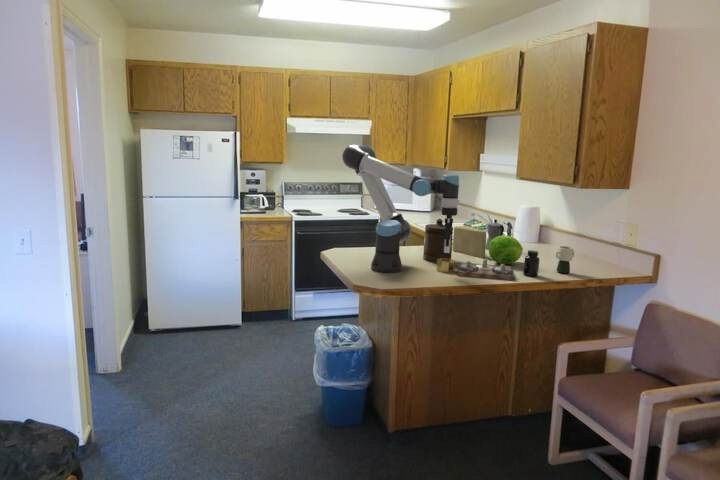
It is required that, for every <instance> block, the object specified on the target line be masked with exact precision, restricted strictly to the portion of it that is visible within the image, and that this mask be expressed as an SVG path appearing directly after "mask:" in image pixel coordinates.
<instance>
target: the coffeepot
mask: <svg viewBox="0 0 720 480" xmlns="http://www.w3.org/2000/svg"><path fill="white" fill-rule="evenodd" d="M486 228H487V236H488V237H487V238H486V249H485V250H487V251H489V250H488V249H489V243H490V241H491V240H492V239H493V238H495V237H497V236H501V235H504V233H505V227H504V224H502V223H498V220H497V219H494V220H493V222H488V223H487V227H486Z"/></svg>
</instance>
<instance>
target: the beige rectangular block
mask: <svg viewBox="0 0 720 480" xmlns="http://www.w3.org/2000/svg"><path fill="white" fill-rule="evenodd" d="M486 243H487V231H486V230H482V229H478V228H473V227H471V226H469V225H455V226H454V227H453V235H452V251H453V252H457V253H460V254H465V255H469V256H471V257H472V256H473V257H477V258H480V259H486V258H485V257H486V250H487V249H486Z"/></svg>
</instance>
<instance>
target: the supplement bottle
mask: <svg viewBox="0 0 720 480" xmlns="http://www.w3.org/2000/svg"><path fill="white" fill-rule="evenodd" d="M538 256H539V251H537V250H532V249H531V250H527V255H526V256H525V257H524V265H523V273H522V274H523V275H524V276H525V277H530V278H536V277H538V276H539V266H540V257H538Z"/></svg>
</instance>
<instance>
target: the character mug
mask: <svg viewBox="0 0 720 480" xmlns="http://www.w3.org/2000/svg"><path fill="white" fill-rule="evenodd" d="M574 257H575V250H574V247H572V246H566V245H559V246H558V248H557V251H556V253H555V258H556V259H558V260H559V261H558V263H557V266H556V267H557V268H556V272H559V273H560V274H561V273H563V274H569V273H570V272H571V271H570V270H571V264H570V262H572V261H573V258H574Z"/></svg>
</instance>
